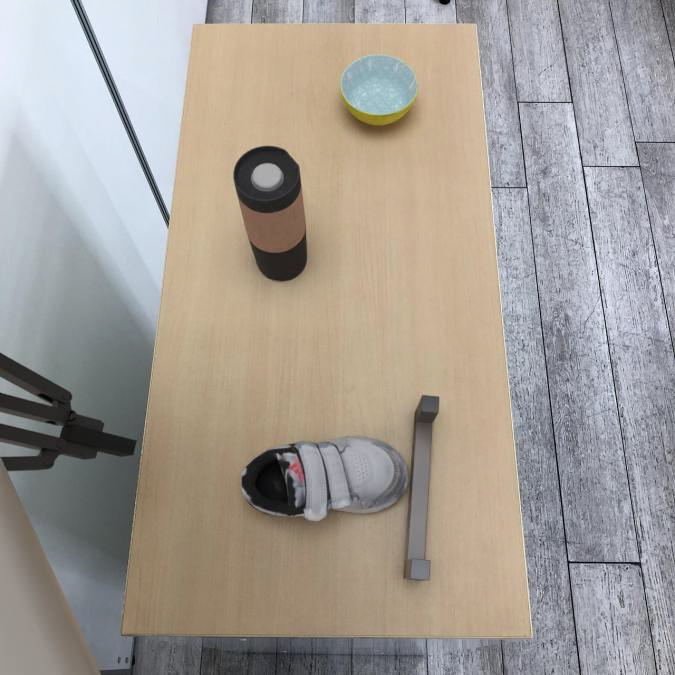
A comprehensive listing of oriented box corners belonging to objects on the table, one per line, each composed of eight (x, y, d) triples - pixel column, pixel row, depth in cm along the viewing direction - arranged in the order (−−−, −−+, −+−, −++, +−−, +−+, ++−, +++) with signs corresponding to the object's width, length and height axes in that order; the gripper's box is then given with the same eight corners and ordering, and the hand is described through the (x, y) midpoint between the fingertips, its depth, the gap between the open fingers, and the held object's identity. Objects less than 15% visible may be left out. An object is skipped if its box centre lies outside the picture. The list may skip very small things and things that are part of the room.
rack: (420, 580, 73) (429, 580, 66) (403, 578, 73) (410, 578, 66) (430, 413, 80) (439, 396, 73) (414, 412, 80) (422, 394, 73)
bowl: (396, 153, 95) (399, 125, 89) (327, 126, 97) (326, 97, 91) (425, 99, 99) (430, 69, 93) (358, 74, 100) (360, 43, 95)
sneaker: (411, 518, 76) (421, 509, 66) (248, 533, 75) (235, 526, 66) (400, 433, 79) (408, 413, 70) (245, 447, 79) (232, 429, 69)
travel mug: (250, 279, 87) (225, 197, 69) (260, 232, 90) (239, 140, 71) (304, 286, 87) (294, 205, 68) (313, 238, 90) (305, 148, 71)
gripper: (-127, 314, 54) (126, 391, 68) (-191, 467, 49) (96, 514, 64) (-109, 294, 49) (161, 382, 63) (-178, 462, 44) (131, 515, 58)
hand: (128, 448), depth 63 cm, fingers closed
